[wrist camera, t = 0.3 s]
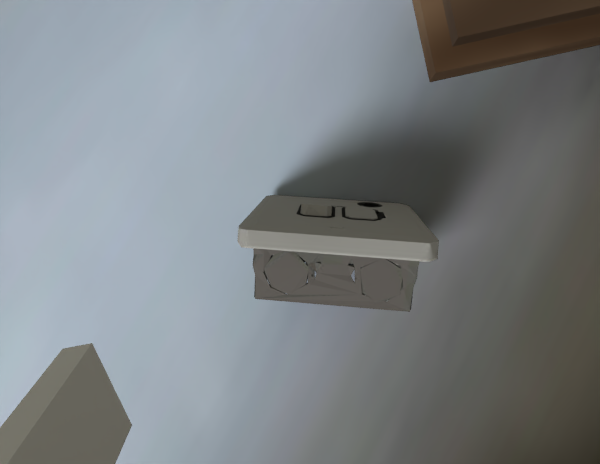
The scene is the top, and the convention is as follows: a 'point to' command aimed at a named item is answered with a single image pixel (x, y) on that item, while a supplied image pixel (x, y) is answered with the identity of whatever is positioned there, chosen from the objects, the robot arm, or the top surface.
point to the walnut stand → (501, 32)
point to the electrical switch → (336, 251)
